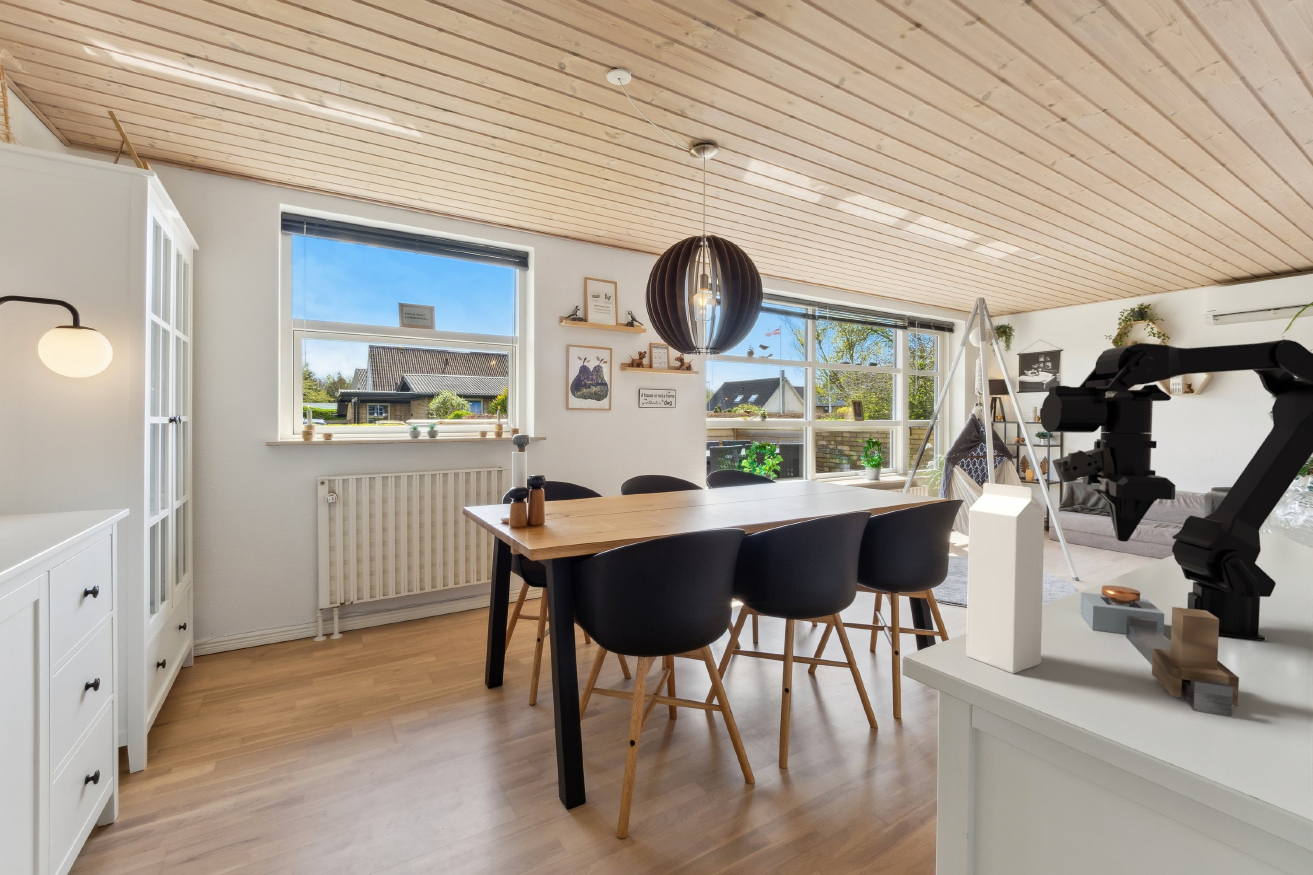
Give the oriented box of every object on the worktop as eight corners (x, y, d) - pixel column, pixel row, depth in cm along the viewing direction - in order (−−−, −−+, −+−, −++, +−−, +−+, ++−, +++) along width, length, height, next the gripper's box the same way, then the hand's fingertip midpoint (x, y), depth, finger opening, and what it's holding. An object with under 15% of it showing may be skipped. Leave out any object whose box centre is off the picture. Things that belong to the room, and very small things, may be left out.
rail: (1153, 640, 80) (1154, 618, 79) (1231, 716, 59) (1232, 687, 59) (1126, 637, 81) (1127, 615, 81) (1193, 710, 61) (1194, 681, 61)
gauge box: (1145, 622, 87) (1146, 599, 86) (1163, 638, 80) (1164, 613, 80) (1080, 614, 90) (1081, 592, 90) (1092, 629, 84) (1093, 605, 83)
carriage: (1211, 682, 66) (1214, 608, 66) (1237, 705, 61) (1241, 625, 60) (1151, 673, 68) (1154, 601, 68) (1171, 695, 63) (1174, 617, 63)
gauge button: (1133, 617, 86) (1134, 587, 86) (1144, 627, 82) (1145, 595, 82) (1097, 613, 88) (1098, 583, 88) (1105, 622, 84) (1106, 591, 84)
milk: (1013, 674, 69) (1017, 489, 68) (964, 656, 74) (968, 483, 74) (1041, 663, 72) (1046, 485, 71) (993, 646, 77) (996, 480, 76)
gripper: (1046, 430, 96) (1044, 525, 96) (1073, 434, 79) (1070, 548, 79) (1131, 431, 91) (1128, 531, 92) (1179, 435, 74) (1174, 557, 75)
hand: (1122, 540), depth 85 cm, fingers closed
